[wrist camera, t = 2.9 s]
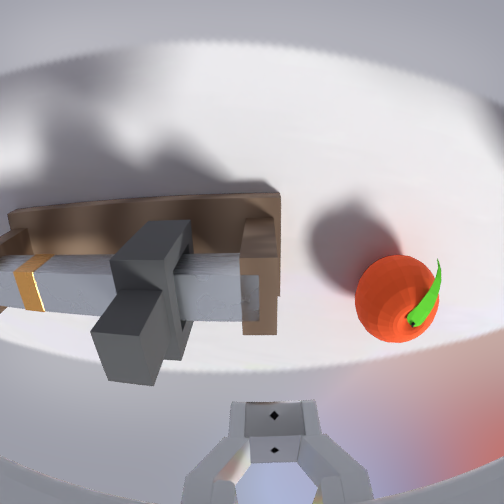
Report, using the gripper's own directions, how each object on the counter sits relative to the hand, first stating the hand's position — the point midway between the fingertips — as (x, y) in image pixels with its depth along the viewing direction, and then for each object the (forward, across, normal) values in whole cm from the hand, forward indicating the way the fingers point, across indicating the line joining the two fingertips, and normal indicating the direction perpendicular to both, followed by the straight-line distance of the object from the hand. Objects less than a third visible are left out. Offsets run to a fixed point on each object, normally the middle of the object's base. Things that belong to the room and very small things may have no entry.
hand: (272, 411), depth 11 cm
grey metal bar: (+11, +11, 0) cm, 16 cm away
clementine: (+16, -11, +3) cm, 20 cm away
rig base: (+16, +11, 0) cm, 20 cm away
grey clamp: (+13, +6, 0) cm, 14 cm away
